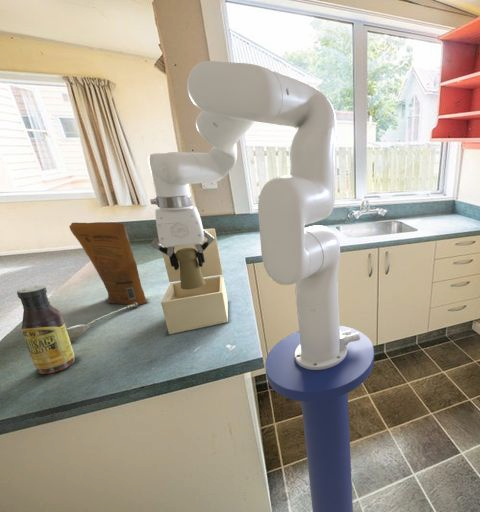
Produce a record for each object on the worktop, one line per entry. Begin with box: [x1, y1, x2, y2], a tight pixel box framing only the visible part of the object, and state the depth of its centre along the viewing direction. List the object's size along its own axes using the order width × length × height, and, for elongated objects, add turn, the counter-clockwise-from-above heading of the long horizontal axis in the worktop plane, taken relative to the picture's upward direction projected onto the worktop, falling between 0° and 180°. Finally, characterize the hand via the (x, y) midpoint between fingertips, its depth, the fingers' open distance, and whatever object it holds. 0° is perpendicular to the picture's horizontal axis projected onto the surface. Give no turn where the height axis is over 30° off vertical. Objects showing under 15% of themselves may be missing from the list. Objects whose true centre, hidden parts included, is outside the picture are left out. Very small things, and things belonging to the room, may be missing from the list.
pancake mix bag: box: [68, 221, 148, 306], centre depth 96 cm, size 7×19×28 cm, turn 77°
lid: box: [161, 227, 224, 283], centre depth 94 cm, size 15×15×5 cm
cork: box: [175, 248, 205, 289], centre depth 84 cm, size 6×6×11 cm
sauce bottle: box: [16, 284, 76, 375], centre depth 66 cm, size 6×6×20 cm
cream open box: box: [160, 275, 229, 335], centre depth 90 cm, size 15×15×10 cm
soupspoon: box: [66, 302, 139, 343], centre depth 86 cm, size 22×3×7 cm
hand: (189, 266), depth 84 cm, fingers closed on cork, 5 cm apart
